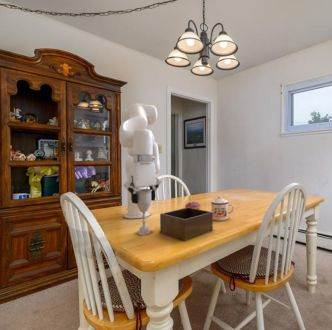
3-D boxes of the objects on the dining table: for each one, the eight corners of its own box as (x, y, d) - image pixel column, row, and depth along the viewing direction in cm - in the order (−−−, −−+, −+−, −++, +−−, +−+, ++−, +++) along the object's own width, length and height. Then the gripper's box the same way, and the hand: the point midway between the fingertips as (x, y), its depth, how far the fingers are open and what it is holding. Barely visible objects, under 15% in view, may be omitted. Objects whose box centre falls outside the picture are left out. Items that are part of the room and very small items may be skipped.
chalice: (146, 236, 89) (145, 191, 89) (131, 235, 91) (130, 191, 90) (156, 230, 97) (155, 189, 96) (142, 229, 98) (141, 188, 97)
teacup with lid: (211, 221, 111) (211, 198, 110) (210, 216, 120) (210, 194, 119) (235, 220, 112) (235, 197, 112) (232, 215, 121) (232, 194, 121)
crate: (160, 232, 94) (160, 213, 94) (188, 223, 106) (188, 207, 106) (184, 240, 85) (184, 220, 84) (212, 230, 97) (212, 212, 97)
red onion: (191, 217, 118) (191, 194, 117) (181, 214, 123) (181, 193, 123) (203, 214, 124) (203, 193, 124) (194, 211, 130) (194, 191, 129)
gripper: (156, 159, 102) (156, 197, 102) (117, 159, 88) (118, 204, 89) (166, 159, 97) (166, 199, 98) (127, 159, 83) (128, 206, 84)
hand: (143, 201), depth 93 cm, fingers closed on chalice, 7 cm apart
